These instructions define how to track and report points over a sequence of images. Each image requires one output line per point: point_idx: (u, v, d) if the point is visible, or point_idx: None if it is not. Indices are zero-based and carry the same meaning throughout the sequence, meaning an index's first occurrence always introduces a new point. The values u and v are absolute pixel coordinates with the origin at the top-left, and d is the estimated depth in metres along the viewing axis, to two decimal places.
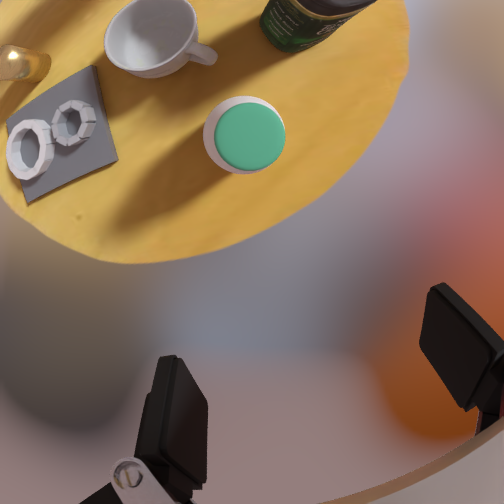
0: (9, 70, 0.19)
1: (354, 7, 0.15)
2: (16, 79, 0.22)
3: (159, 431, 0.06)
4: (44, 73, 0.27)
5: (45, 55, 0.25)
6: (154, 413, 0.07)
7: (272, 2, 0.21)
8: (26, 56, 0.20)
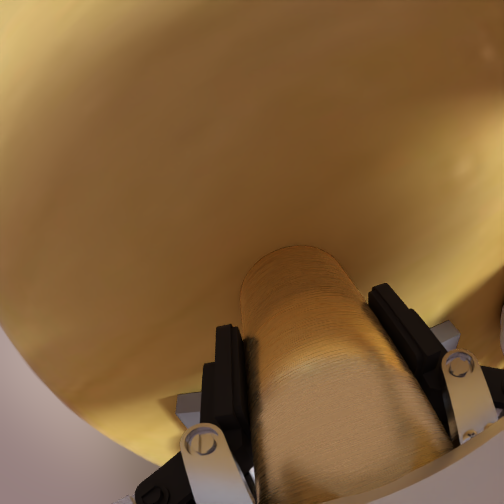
0: None
1: None
2: None
3: (231, 392, 0.07)
4: None
5: None
6: (223, 376, 0.07)
7: None
8: None
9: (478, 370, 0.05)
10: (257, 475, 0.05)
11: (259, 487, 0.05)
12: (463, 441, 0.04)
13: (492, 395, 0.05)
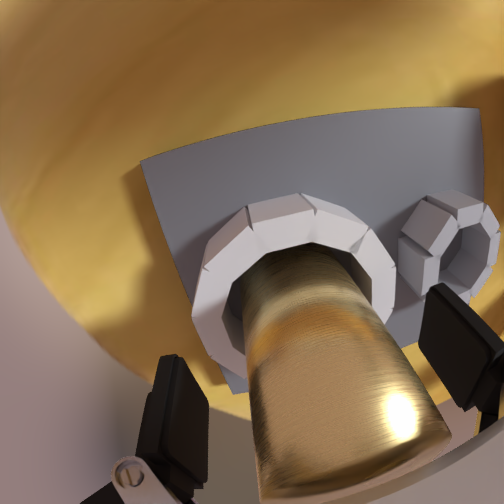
0: None
1: None
2: None
3: (160, 430, 0.06)
4: None
5: None
6: (155, 412, 0.07)
7: None
8: None
9: None
10: (256, 442, 0.06)
11: (258, 454, 0.05)
12: None
13: None
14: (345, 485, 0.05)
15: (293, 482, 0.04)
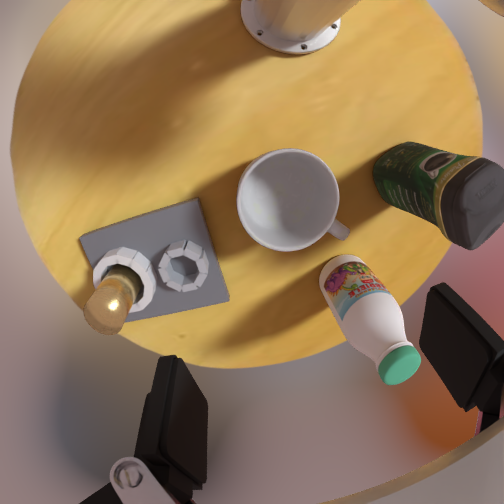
0: None
1: None
2: None
3: (159, 431, 0.06)
4: None
5: None
6: (154, 413, 0.07)
7: (407, 185, 0.28)
8: (129, 301, 0.31)
9: None
10: None
11: None
12: None
13: None
14: (97, 314, 0.28)
15: (84, 306, 0.27)
